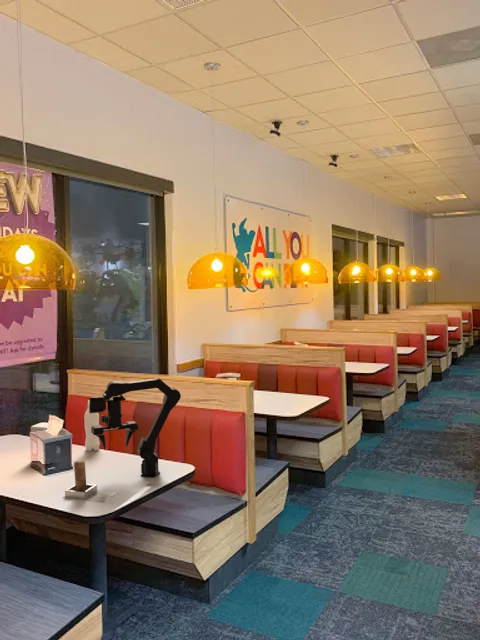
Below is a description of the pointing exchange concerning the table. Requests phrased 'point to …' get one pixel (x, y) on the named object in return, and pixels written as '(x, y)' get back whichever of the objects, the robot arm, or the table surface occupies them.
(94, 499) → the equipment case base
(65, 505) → the table surface
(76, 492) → the beige square tray
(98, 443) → the water bottle
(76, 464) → the stay rod
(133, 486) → the table surface
